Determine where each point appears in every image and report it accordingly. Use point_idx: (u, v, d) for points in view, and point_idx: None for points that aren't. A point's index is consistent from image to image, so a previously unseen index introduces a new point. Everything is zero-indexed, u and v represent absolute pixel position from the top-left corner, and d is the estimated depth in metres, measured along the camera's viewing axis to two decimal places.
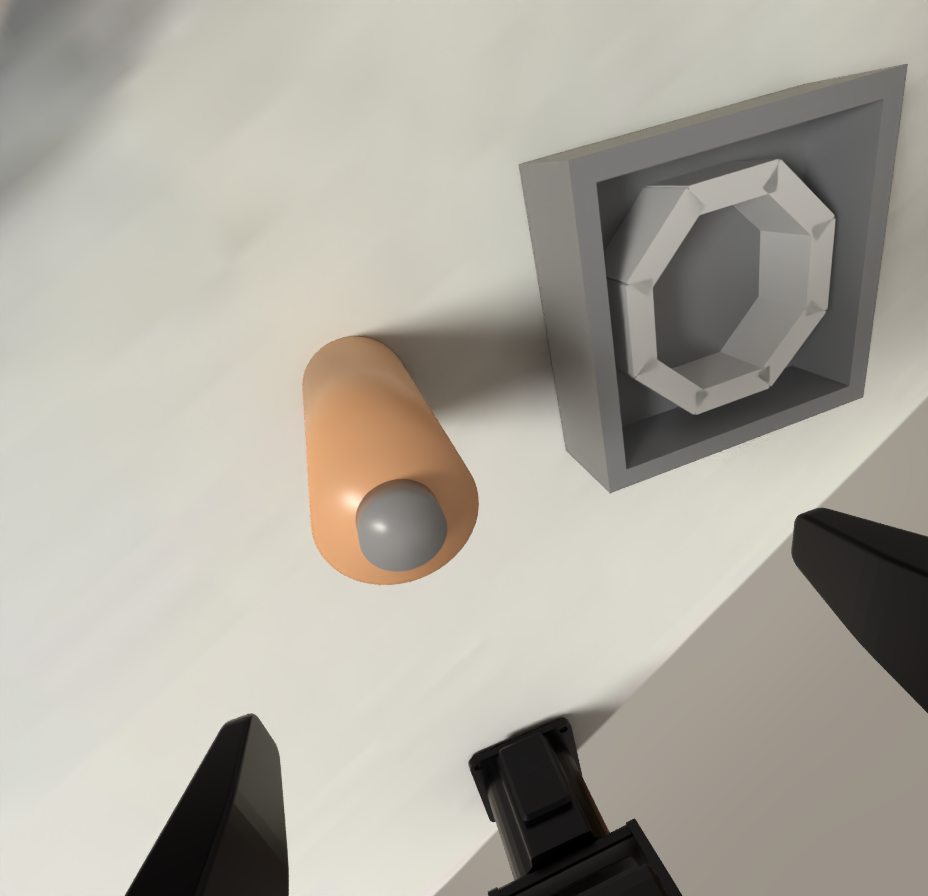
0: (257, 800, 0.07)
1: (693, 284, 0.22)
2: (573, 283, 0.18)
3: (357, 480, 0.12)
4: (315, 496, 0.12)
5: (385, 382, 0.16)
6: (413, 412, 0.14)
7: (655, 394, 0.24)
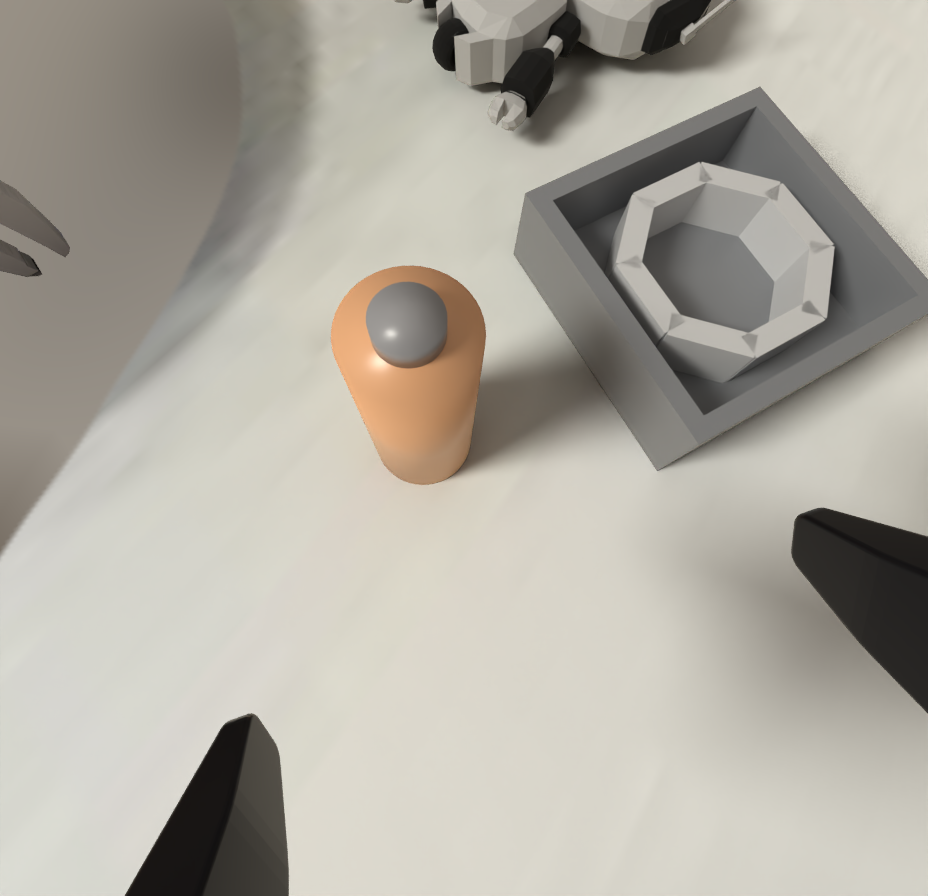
0: (257, 800, 0.07)
1: (700, 286, 0.25)
2: (570, 276, 0.22)
3: (366, 303, 0.14)
4: (333, 320, 0.14)
5: None
6: None
7: (720, 383, 0.23)
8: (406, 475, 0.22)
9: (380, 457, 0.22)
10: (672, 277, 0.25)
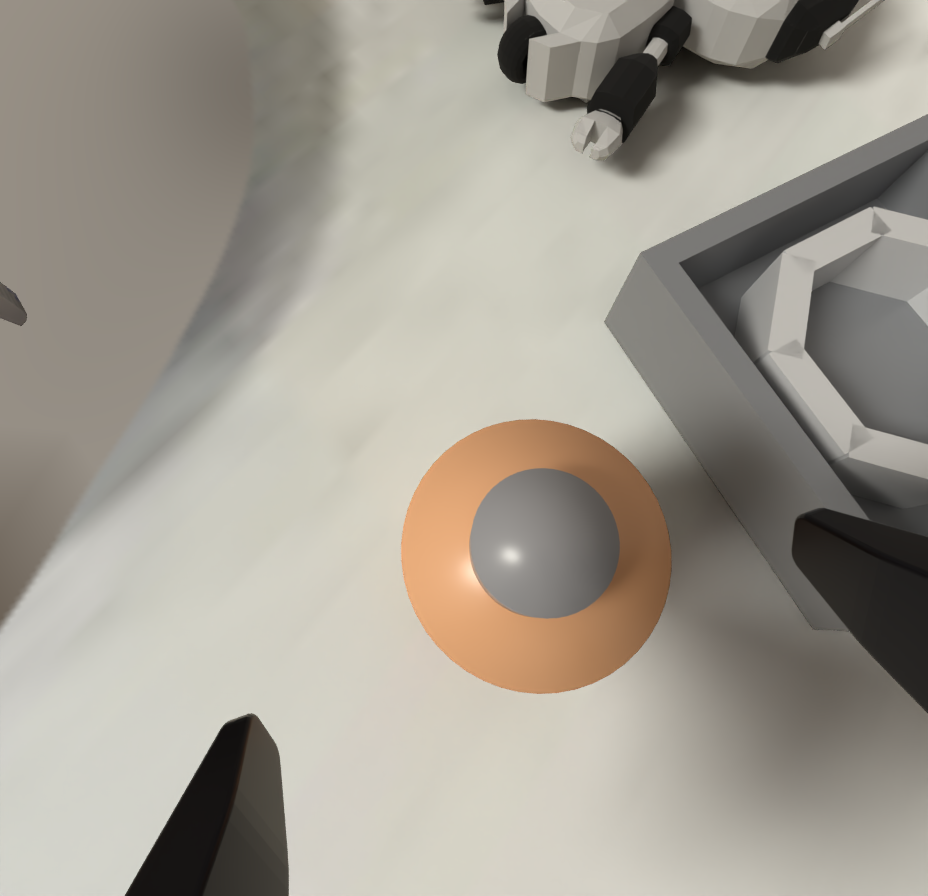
0: (257, 800, 0.07)
1: (861, 370, 0.18)
2: (703, 368, 0.16)
3: (461, 490, 0.08)
4: (404, 523, 0.08)
5: None
6: None
7: (900, 509, 0.17)
8: None
9: None
10: (822, 358, 0.18)
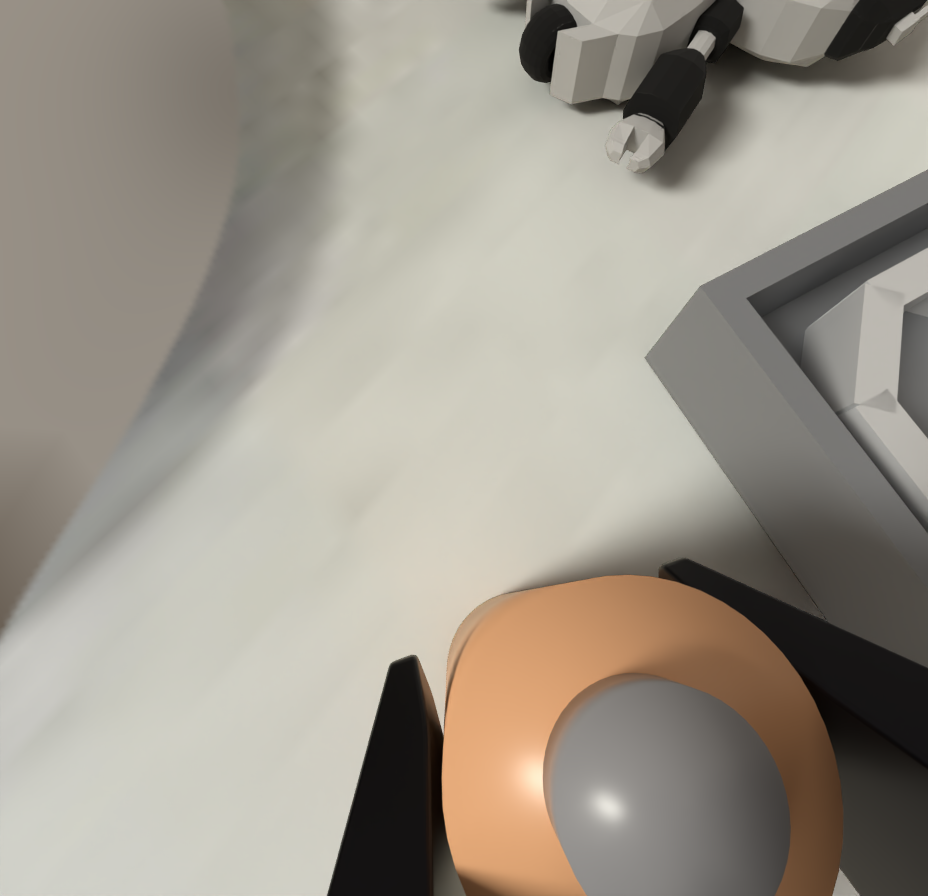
0: (436, 732, 0.07)
1: None
2: (776, 425, 0.13)
3: (527, 689, 0.06)
4: (445, 744, 0.06)
5: None
6: None
7: None
8: None
9: None
10: (902, 402, 0.16)
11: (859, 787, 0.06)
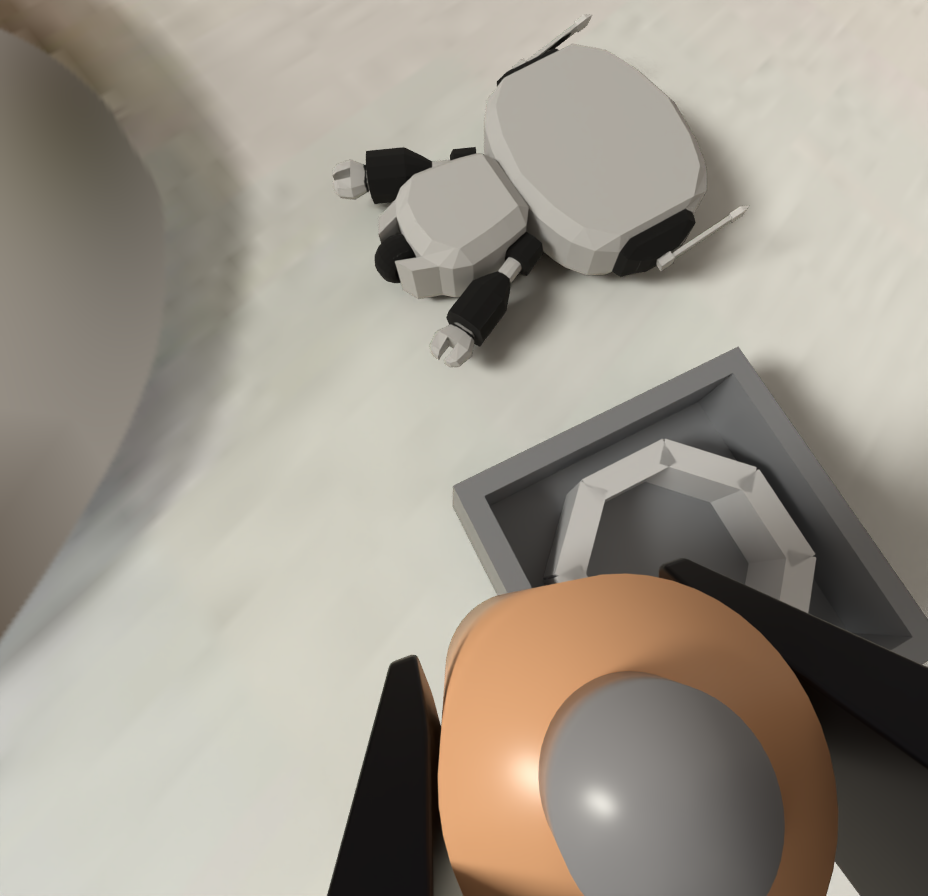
0: (436, 732, 0.07)
1: None
2: (501, 586, 0.19)
3: (523, 687, 0.06)
4: (441, 742, 0.06)
5: None
6: None
7: None
8: None
9: None
10: (630, 554, 0.21)
11: (860, 788, 0.06)
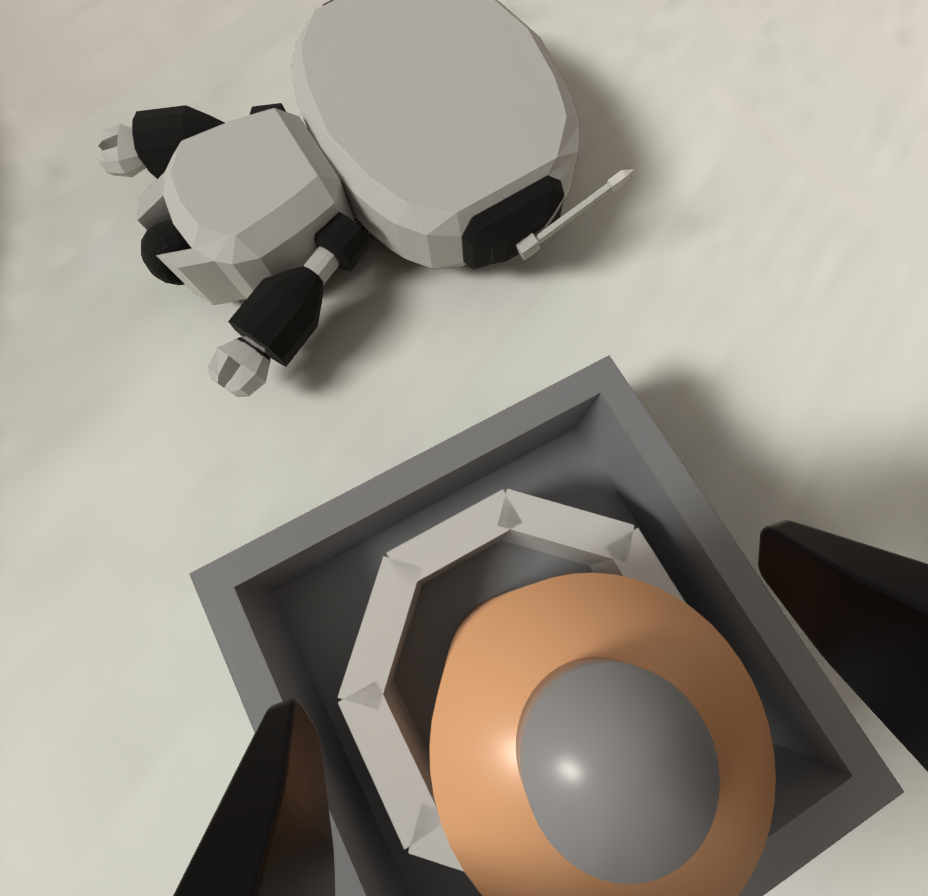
0: (304, 782, 0.07)
1: None
2: None
3: (503, 671, 0.07)
4: (432, 718, 0.06)
5: None
6: None
7: None
8: None
9: None
10: None
11: None
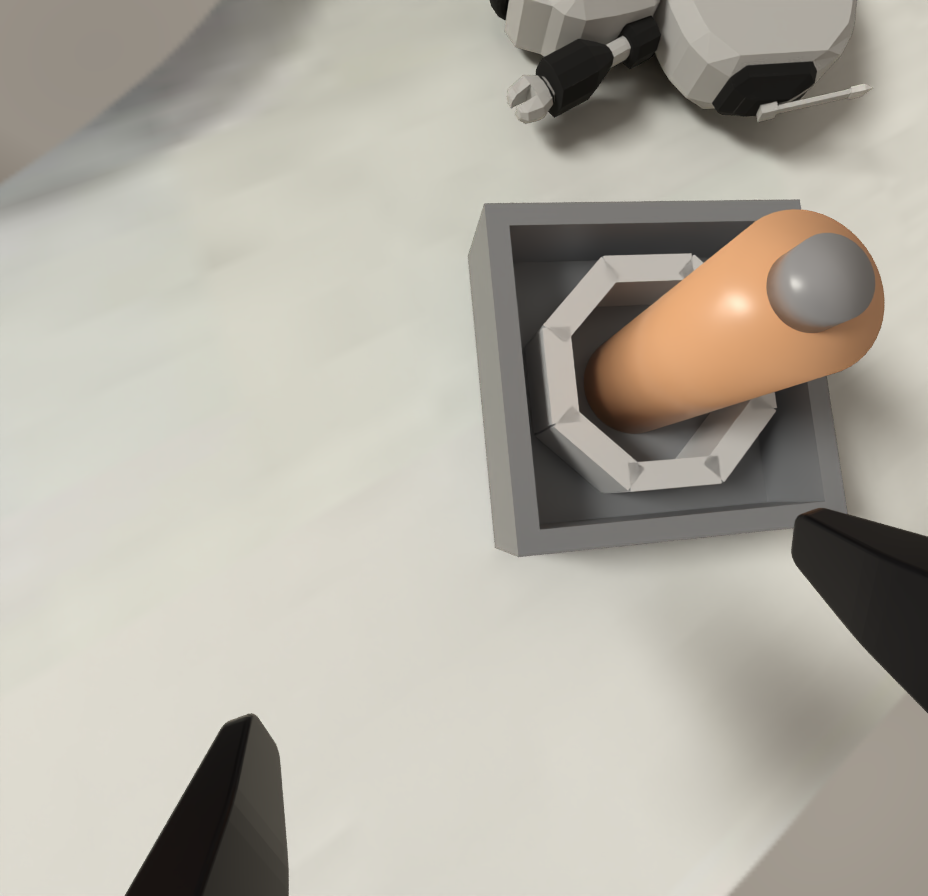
0: (257, 800, 0.07)
1: None
2: (490, 317, 0.19)
3: (775, 239, 0.13)
4: (735, 242, 0.13)
5: None
6: None
7: (598, 492, 0.21)
8: (615, 415, 0.20)
9: (591, 385, 0.21)
10: None
11: None
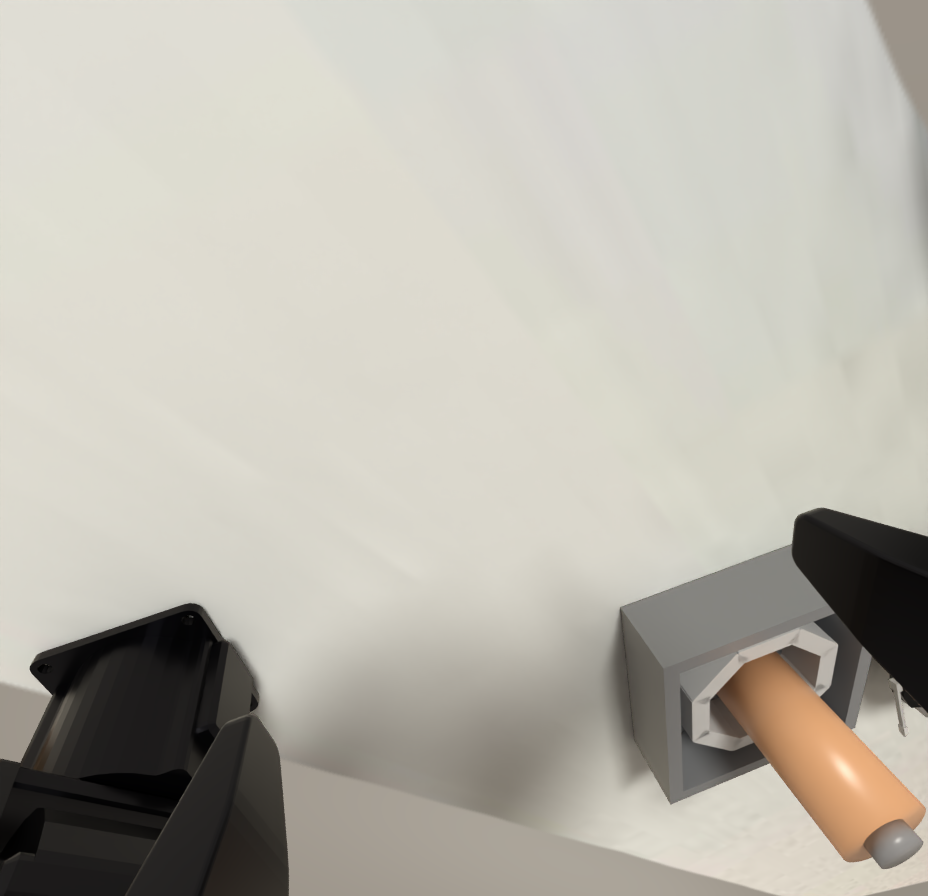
0: (257, 800, 0.07)
1: None
2: (808, 596, 0.27)
3: (912, 815, 0.23)
4: (915, 803, 0.23)
5: None
6: None
7: None
8: None
9: None
10: None
11: None
